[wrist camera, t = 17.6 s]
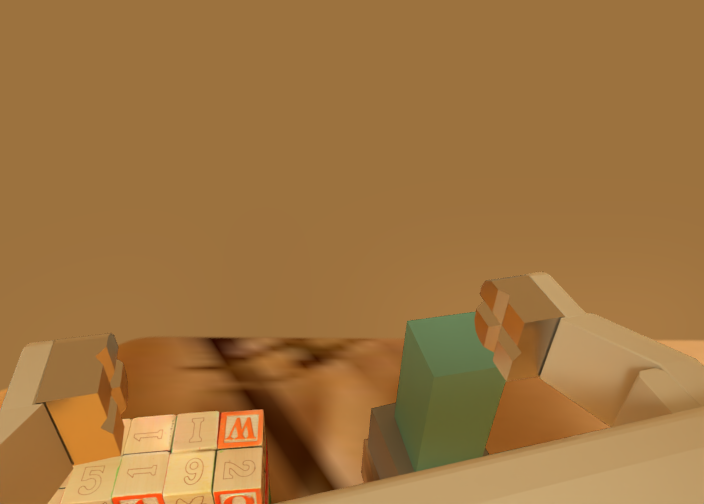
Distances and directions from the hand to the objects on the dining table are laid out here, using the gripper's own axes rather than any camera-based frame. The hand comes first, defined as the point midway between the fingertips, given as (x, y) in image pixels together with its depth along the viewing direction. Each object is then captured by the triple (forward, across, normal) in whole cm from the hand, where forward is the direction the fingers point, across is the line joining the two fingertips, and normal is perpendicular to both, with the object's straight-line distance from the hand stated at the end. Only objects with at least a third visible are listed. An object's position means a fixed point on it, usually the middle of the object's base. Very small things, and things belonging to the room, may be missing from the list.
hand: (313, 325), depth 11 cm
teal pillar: (+13, -12, +25) cm, 31 cm away
